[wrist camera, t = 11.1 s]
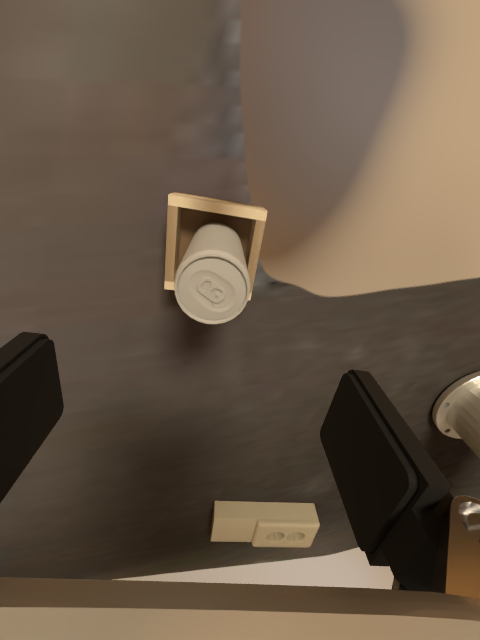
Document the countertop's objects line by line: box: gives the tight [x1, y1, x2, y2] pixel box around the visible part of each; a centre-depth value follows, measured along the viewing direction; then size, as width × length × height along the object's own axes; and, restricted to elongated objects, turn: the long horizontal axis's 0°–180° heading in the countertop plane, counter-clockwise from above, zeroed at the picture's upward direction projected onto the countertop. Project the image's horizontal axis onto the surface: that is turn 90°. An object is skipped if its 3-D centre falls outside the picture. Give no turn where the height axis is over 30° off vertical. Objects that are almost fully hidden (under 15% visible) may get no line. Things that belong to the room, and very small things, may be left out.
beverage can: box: [174, 222, 251, 324], centre depth 22 cm, size 5×5×12 cm
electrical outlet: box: [211, 501, 320, 547], centre depth 50 cm, size 7×4×18 cm
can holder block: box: [164, 192, 267, 300], centre depth 27 cm, size 8×8×4 cm
